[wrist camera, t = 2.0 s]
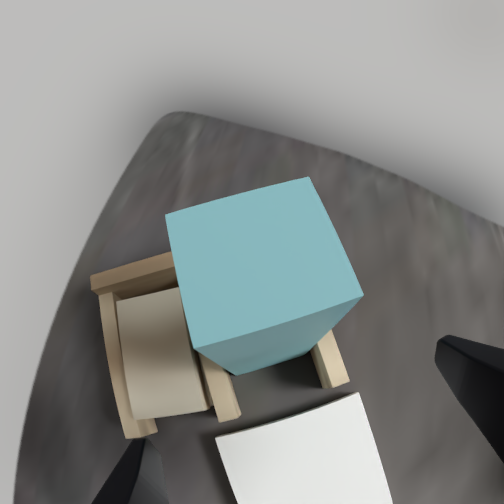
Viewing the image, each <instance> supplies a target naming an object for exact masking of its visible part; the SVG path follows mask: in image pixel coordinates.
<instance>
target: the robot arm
mask: <svg viewBox="0 0 504 504" xmlns="http://www.w3.org/2000/svg"><path fill="white" fill-rule="evenodd" d="M435 364H436V366H437V368H438V369H439V371H440V372H441V374H442V376H443V377H444V379H445V381H446V382H447V384H448V385H449V387H450V389H451V390H452V392H453V394H454V395H455V397H456V398H457V400H458V401H459V403H460V404H461V405H462V407H463V408H464V409H465V411H466V412H467V413H468V414H469V416H470V417H471V418H472V420H473V421H474V423H475V424H476V425H477V427H478V428H479V429H480V431H481V432H482V433H483V435H484V436H485V438H486V439H487V440H488V442H489V443H490V445H491V446H492V447H493V449H494V450H495V452H496V453H497V454H498V456H499V457H500V459H501V460H502V462H503V463H504V349H501V348H497V347H493V346H490V345H486V344H482V343H478V342H475V341H471V340H467V339H463V338H460V337H456V336H452V335H446V336H444V337H442V338H441V339H439V340H438V342H437V346H436V353H435ZM92 504H169V501H168V494H167V489H166V483H165V478H164V472H163V466H162V459H161V456H160V453H159V452H158V450H157V449H156V448H155V447H154V445H153V444H152V443H151V442H150V440H149V439H148V438H145V437H144V438H137V439H134V440H132V442H131V443H130V445H129V446H128V448H127V449H126V451H125V453H124V454H123V456H122V457H121V459H120V460H119V462H118V463H117V465H116V466H115V468H114V470H113V471H112V473H111V474H110V476H109V477H108V479H107V480H106V482H105V483H104V485H103V487H102V488H101V490H100V491H99V493H98V494H97V496H96V497H95V499H94V501H93V502H92Z"/></svg>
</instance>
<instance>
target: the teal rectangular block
mask: <svg viewBox="0 0 504 504" xmlns="http://www.w3.org/2000/svg"><path fill="white" fill-rule="evenodd" d="M165 217H166V223H167V229H168V234H169V240H170V245H171V250H172V255H173V260H174V265H175V270H176V275H177V280H178V284H179V289H180V294H181V298H182V303H183V307H184V311H185V316H186V320H187V324H188V328H189V332H190V336H191V340H192V344H193V348H194V349H195V350H197V351H198V352H200V353H201V354H203V355H204V356H206V357H207V358H209V359H210V360H212V361H213V362H215V363H217V364H218V365H220V366H221V367H223V368H224V369H226V370H228V371H229V372H231V373H233V374H234V375H236V376H237V375H241V374H244V373H248V372H252V371H255V370H258V369H262V368H265V367H268V366H272V365H275V364H278V363H281V362H284V361H287V360H291V359H294V358H297V357H300V356H303V355H305V354H306V353H307V352H308V351H309V350H310V349H311V348H312V347H313V346H314V345H315V344H316V343H318V342H319V341H320V340H321V339H322V338H323V337H324V336H325V335H326V334H327V333H328V332H329V331H330V330H331V329H332V328H333V327H334V326H335V325H336V324H337V323H338V322H339V321H340V320H341V319H342V318H343V317H344V316H345V315H346V314H347V312H348V311H349V310H350V309H351V308H352V307H353V306H354V305H355V304H356V303H357V302H358V301H359V300H360V299H361V298H362V297H363V296H364V294H363V292H362V290H361V287H360V285H359V283H358V280H357V278H356V276H355V273H354V271H353V269H352V266H351V264H350V262H349V260H348V257H347V255H346V253H345V251H344V248H343V246H342V244H341V242H340V240H339V238H338V235H337V233H336V231H335V229H334V227H333V225H332V223H331V221H330V218H329V216H328V214H327V212H326V210H325V208H324V206H323V204H322V202H321V200H320V198H319V196H318V194H317V192H316V190H315V188H314V186H313V184H312V182H311V180H310V178H309V177H305V178H301V179H296V180H292V181H288V182H284V183H280V184H276V185H272V186H268V187H264V188H260V189H256V190H252V191H248V192H244V193H240V194H237V195H233V196H229V197H225V198H222V199H218V200H214V201H211V202H207V203H204V204H200V205H197V206H193V207H190V208H186V209H183V210H179V211H176V212H173V213H169V214H166V215H165Z"/></svg>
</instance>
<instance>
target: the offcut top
mask: <svg viewBox="0 0 504 504" xmlns="http://www.w3.org/2000/svg"><path fill="white" fill-rule="evenodd" d="M116 304H117V315H118V325H119V334H120V342H121V349H122V357H123V363H124V370H125V376H126V382H127V388H128V393H129V399H130V404H131V409H132V414H133V419H134V420H140V419H149V418H158V417H166V416H173V415H180V414H187V413H193V412H199V411H205V410H208V409H210V405H209V401H208V396H207V392H206V388H205V383H204V379H203V375H202V370H201V365H200V361H199V356H198V351H197V350H195V349H194V348H193V344H192V340H191V336H190V332H189V328H188V324H187V320H186V316H185V311H184V307H183V303H182V298H181V294H180V289H179V287H177V288H173V289H169V290H164V291H160V292H156V293H151V294H147V295H143V296H138V297H134V298H129V299H125V300H120V301H116Z"/></svg>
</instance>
